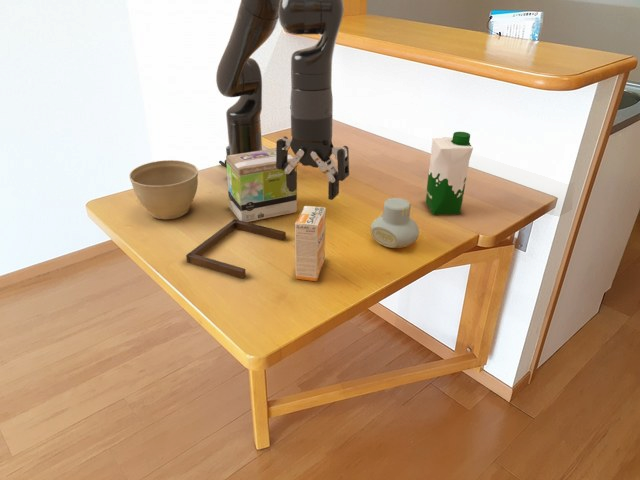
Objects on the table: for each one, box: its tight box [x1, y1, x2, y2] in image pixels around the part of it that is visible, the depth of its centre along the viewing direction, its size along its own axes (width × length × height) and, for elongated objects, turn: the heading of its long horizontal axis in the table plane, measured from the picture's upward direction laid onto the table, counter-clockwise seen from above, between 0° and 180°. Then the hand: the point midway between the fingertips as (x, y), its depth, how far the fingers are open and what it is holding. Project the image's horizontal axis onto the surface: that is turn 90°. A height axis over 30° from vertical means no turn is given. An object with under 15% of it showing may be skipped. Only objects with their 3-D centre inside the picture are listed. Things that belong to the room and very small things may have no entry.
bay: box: [185, 218, 287, 280], centre depth 114 cm, size 14×18×2 cm
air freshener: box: [370, 197, 420, 249], centre depth 116 cm, size 11×8×10 cm
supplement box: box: [294, 205, 327, 282], centre depth 105 cm, size 8×5×13 cm, turn 168°
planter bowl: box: [129, 159, 199, 220], centre depth 128 cm, size 16×16×11 cm
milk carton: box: [425, 131, 474, 216], centre depth 128 cm, size 9×9×20 cm
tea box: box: [225, 147, 298, 223], centre depth 128 cm, size 15×10×15 cm, turn 117°
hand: (312, 194), depth 100 cm, fingers open, 8 cm apart
